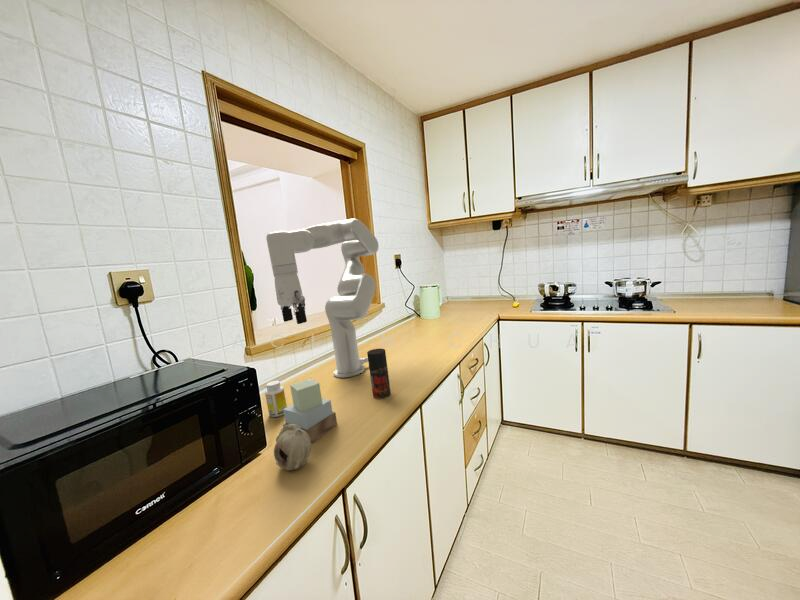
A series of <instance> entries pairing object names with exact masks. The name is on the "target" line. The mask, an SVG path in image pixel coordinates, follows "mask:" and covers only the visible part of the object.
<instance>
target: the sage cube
mask: <svg viewBox="0 0 800 600" xmlns="http://www.w3.org/2000/svg"><path fill="white" fill-rule="evenodd" d="M289 387H290V391H291V392H290V393H291V399H292V404H294V406H295V407H296V408H297V409H298V410H299V411H300V412H303V411H306V410H308V409H311V408H314V407H316V406H319V405H321V404H322V394H321V385H320V383H319V382H318V381H317V380H315V379H314V378H312V377H310V378H307V379H305V380H301V381H298V382H294V383H291V384H289Z"/></svg>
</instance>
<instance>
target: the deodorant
mask: <svg viewBox="0 0 800 600" xmlns="http://www.w3.org/2000/svg"><path fill="white" fill-rule="evenodd" d="M386 353H387V352H386V349H384V348H373V349H370V350H368V351H367V352H366V354H367V357H368V362H367V363H368V368H369V375H370V383H371V384H370V385H371V391H372V392H371V393H372V397H373V398H374V399H376V398H377V400H378V399H381V398H382V399H386V398H388V397H390V396H391V395H390V394H391V392H392V391H391V386H390V385H391V384H390V379H389V378H390V376H389V370H388V369H389V368H388V361H387V354H386ZM389 395H390V396H389ZM385 397H386V398H385Z"/></svg>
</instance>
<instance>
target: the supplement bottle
mask: <svg viewBox="0 0 800 600" xmlns="http://www.w3.org/2000/svg"><path fill="white" fill-rule="evenodd" d="M265 386H266V390H265V391H264V396H265V401H266V406H267V411H268V415H269V416H270V417H272V418H277V417H280V416H283V415H284V411H283V409H285V408H286V407H288V405H287V399H286V394H285V390H284V389H285V388H284V386H282V385H281V382H280V381H279V380H272V381H269V382H268V383H266V385H265Z"/></svg>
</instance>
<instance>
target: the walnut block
mask: <svg viewBox="0 0 800 600" xmlns="http://www.w3.org/2000/svg"><path fill="white" fill-rule="evenodd" d="M332 413H333V414H331V415H330V416H328V417H327V418H325V419H323V420H322V421H320V422H319V423H317V424H316V425H314V426H312V427H311V428H309V429H308V430H306V429H303V428H301V429H302V430H304V431H305V432H306V433H307V434H308V435H309V437H310V439H311V445H312V444H314V443H315V442H316V441H318V440H320V439H321V438H322V437H323V436H324V435H326V434H327V433H328V432H329V431H330V430H332V429H333V428H334V427H335V426H337V425H338V421H337V420H338V419H337V414H336V411H332ZM285 425H288V424H287V423H283V424H282V428H283V427H284V426H285Z"/></svg>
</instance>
